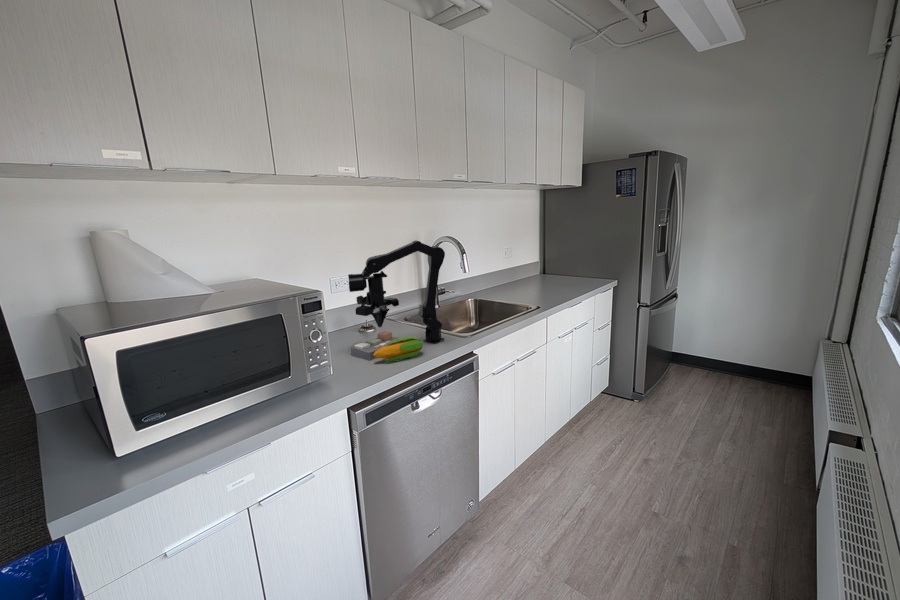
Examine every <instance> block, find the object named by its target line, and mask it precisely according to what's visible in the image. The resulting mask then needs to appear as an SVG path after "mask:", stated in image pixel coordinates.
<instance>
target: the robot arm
mask: <svg viewBox="0 0 900 600" xmlns="http://www.w3.org/2000/svg"><path fill="white" fill-rule="evenodd" d="M417 252H419V253H420V254H421V253H422V254H424V255H426V256H427V264H428V273H427V279H426V280H427V281H426V288H425V297H424V302H423V304H419V311H418V315H419V319H420V320H421V321H422V322H423V324H424V325H426V327H425V332H424V333H425V338H424V339H423V340H422V342H425V343H430V344H437V343H440V342H442V341H444V340H445V337H442V326H443V323H442V322H441V321H440V320H439V319H438V318H437V308H436V299H437V292H438V291H437V290H438V283H439V275H440V269H441V267H442V266H443V263H444V260H445V258H446V257H445V256H446V253H445V250H444V249H443V248H442V247H440V246H437V245H432V246H430V245H427V244H425V243H424V242H422V241H419V240H413V241H412V242H409V243H408V244H406V245H402V246H401V247H398V248H396V249H394V250H392V251H390V252H387V253H384V254H377V255H373V256H370V257H368V258H367V259H366V261H365V267H364V268H363V270H362V272H361V273H354V274H353V273H349V274H348V289H349V293H353V292H361V291H365V290H366V288H367V287H368V291H367V292H366V296H363V295H358V296H357V297H356V303H357V305H360V306H357V307H356V308H355V309H354V310H355V315H357V316H362V317H368V316H372V318H373V319H374V321H375V323H376V325H377V327H378V328H382V327H383V324H384V321H385V319H386V317H387V315H388V313H389V311H390V308H388V306H390V305H391V306H393V307H394V308H395V307H397V306H400V301H399V299H398V298H395V297H387V298H386V297H385V294H387V290H384V281H383V278H387V277H388V275H387V274H386V273H385V272H384V271H383V269H386V267H387V266H389V265H390V264H392V263H394V262H397V261H398V260H400V259H403V258H405V257H407V256H410V255H412V254H414V253H417ZM367 285H368V286H367Z"/></svg>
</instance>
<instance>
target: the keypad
mask: <svg viewBox="0 0 900 600" xmlns="http://www.w3.org/2000/svg"><path fill="white" fill-rule="evenodd" d="M375 338H376V339H378V337H375ZM396 339H400V338H399V337H394V336H392V339H389V340H386V341H382V340H381V341H382V342H381V343H379V344H376V345H370V347H368V348H365V349H363V350H360V349H356V348H355V347H354V346H351V347H350V348H349V349H350V355H351V356H353V357H357V358H360V359H363V360H368V361H372V360H375V359H377V358H376V357H374V355H373V354H374V353H375V351H377V350H378V349H380V348H382V347H384V346H387V345H389V344H392V343H395V342H392V343H387V342H390V341H392V340H396ZM401 341H403V340H401ZM396 342H399V341H396ZM364 343H366V341H365V342H364Z"/></svg>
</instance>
